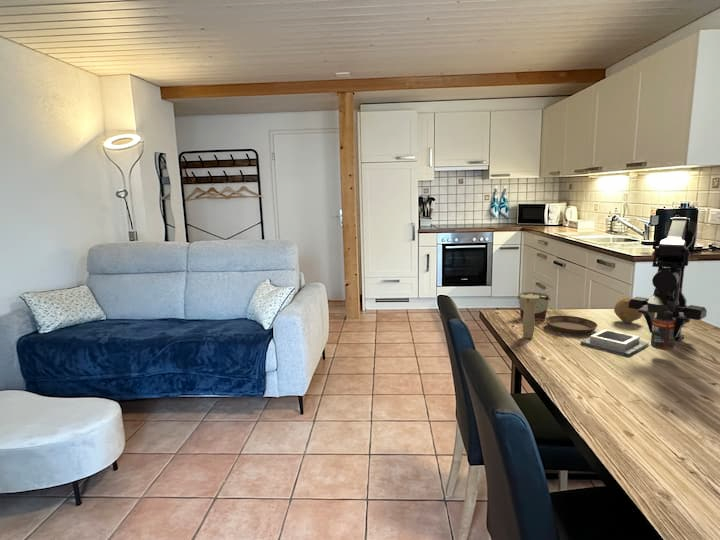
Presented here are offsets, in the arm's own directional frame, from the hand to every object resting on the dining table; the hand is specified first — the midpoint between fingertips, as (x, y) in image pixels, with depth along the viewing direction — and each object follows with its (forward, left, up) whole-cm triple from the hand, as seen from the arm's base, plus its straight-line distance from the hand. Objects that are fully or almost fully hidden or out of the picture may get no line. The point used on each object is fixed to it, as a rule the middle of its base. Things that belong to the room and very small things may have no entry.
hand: (663, 334), depth 132 cm
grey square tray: (-1, -14, -7) cm, 16 cm away
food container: (-11, -50, -8) cm, 52 cm away
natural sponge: (-30, -22, -8) cm, 38 cm away
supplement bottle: (0, 0, -4) cm, 4 cm away
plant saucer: (-7, -32, -8) cm, 34 cm away
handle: (+13, -37, -7) cm, 40 cm away
